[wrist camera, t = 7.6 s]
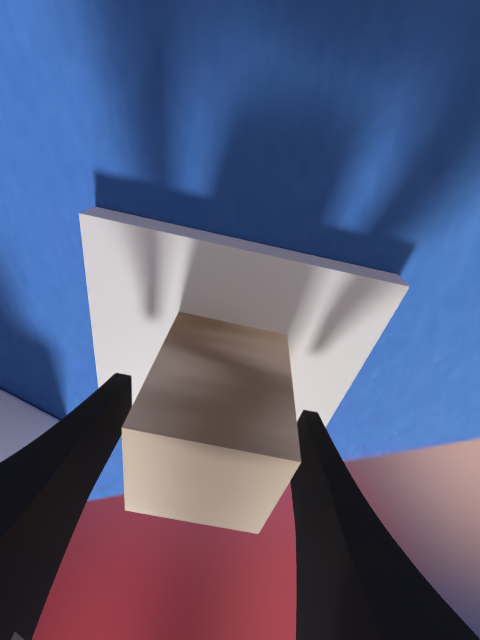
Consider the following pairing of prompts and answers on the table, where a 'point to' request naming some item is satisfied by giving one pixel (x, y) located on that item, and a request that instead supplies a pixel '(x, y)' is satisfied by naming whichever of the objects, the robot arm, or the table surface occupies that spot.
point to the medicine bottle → (20, 424)
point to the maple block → (213, 427)
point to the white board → (230, 300)
